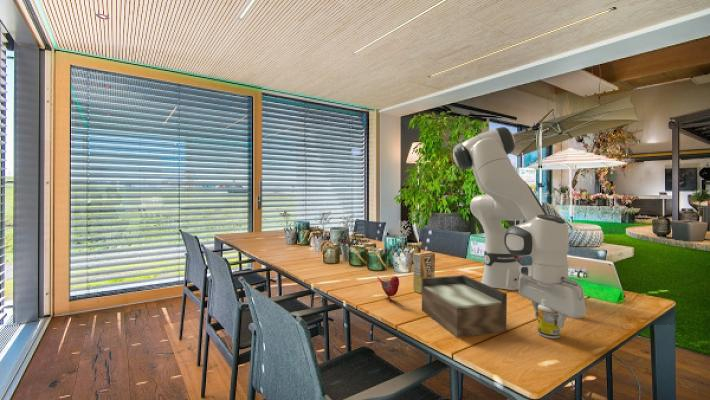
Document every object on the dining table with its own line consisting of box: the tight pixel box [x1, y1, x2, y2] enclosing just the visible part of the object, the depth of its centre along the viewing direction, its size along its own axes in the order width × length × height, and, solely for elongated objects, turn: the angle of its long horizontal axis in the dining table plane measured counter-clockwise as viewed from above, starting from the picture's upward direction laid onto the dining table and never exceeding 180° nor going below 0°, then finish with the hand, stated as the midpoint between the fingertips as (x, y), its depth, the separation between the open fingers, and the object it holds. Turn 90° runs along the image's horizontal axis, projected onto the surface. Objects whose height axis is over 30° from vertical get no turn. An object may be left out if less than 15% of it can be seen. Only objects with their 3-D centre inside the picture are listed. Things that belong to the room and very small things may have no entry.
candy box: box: [412, 251, 436, 294], centre depth 139 cm, size 9×4×15 cm, turn 129°
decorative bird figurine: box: [377, 275, 400, 302], centre depth 128 cm, size 3×18×10 cm, turn 22°
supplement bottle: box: [537, 299, 561, 339], centre depth 96 cm, size 6×6×10 cm
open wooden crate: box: [421, 274, 508, 338], centre depth 107 cm, size 16×22×11 cm
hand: (548, 322), depth 96 cm, fingers closed on supplement bottle, 6 cm apart
